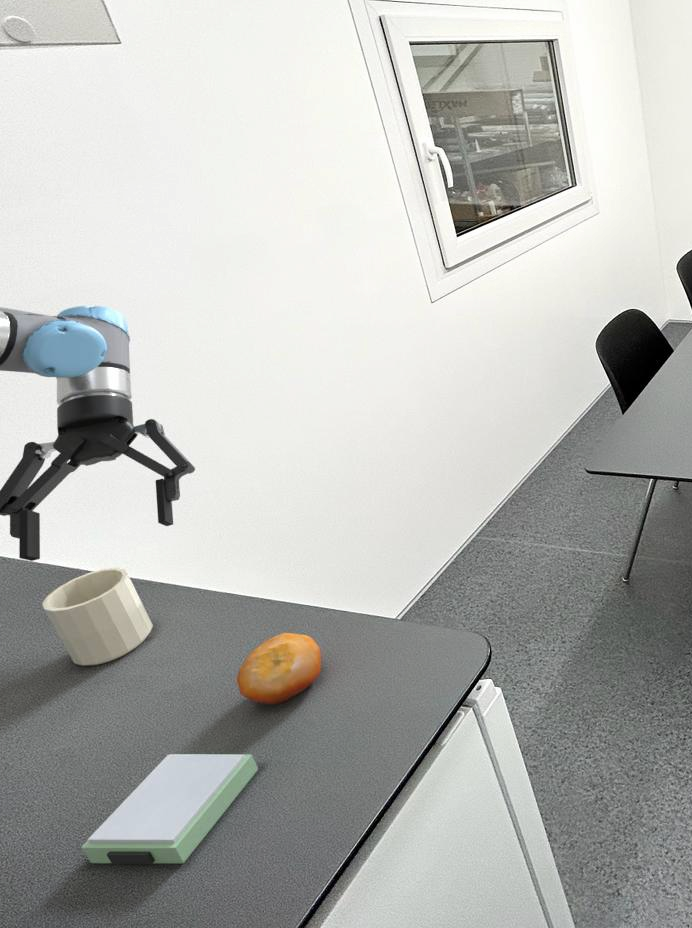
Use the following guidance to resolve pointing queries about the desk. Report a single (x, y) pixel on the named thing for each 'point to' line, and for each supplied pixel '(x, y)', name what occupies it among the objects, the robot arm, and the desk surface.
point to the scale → (171, 809)
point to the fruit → (279, 668)
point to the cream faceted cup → (98, 616)
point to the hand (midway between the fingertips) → (100, 540)
